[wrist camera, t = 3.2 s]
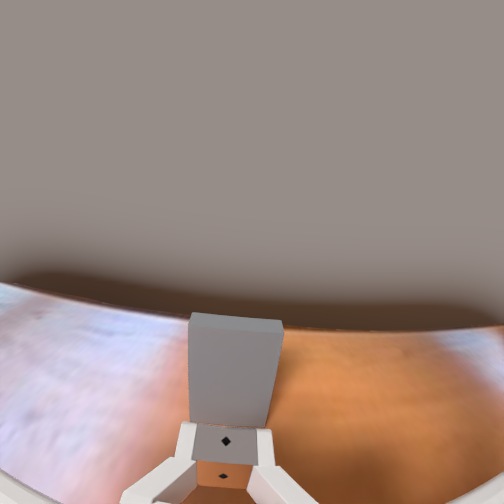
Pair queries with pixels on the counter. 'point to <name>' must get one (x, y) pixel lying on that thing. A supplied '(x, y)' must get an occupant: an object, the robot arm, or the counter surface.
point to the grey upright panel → (232, 368)
